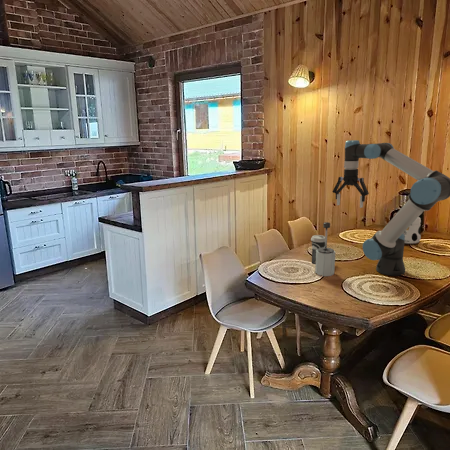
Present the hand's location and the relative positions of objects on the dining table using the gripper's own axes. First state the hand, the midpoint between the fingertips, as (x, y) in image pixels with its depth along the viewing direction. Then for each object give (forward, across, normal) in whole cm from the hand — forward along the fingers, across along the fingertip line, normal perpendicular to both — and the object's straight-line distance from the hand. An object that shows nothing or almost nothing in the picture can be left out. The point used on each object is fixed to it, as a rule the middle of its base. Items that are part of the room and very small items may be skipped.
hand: (349, 206), depth 219 cm
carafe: (+36, +7, +17) cm, 41 cm away
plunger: (+25, +5, +17) cm, 31 cm away
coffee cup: (+36, +19, 0) cm, 41 cm away
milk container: (+36, -12, -70) cm, 80 cm away
